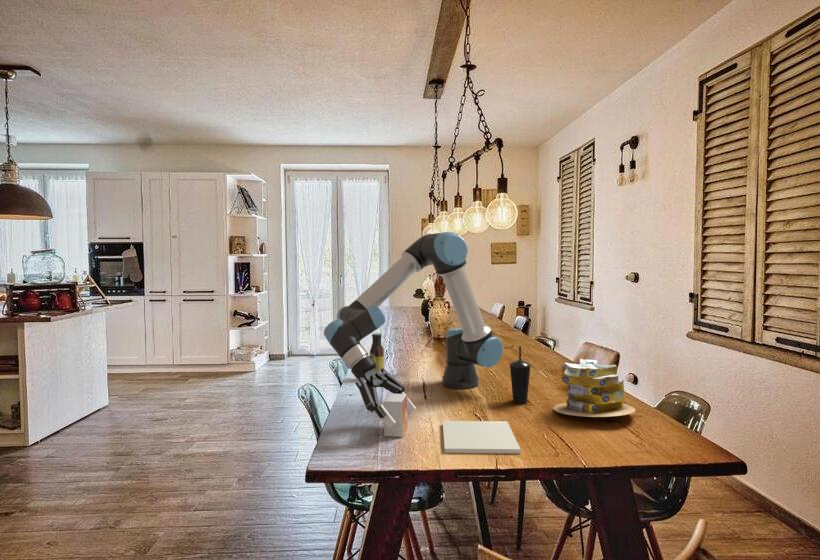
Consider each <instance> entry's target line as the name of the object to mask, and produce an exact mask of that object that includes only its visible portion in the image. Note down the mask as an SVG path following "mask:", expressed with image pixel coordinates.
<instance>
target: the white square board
mask: <svg viewBox="0 0 820 560" xmlns="http://www.w3.org/2000/svg"><path fill="white" fill-rule="evenodd" d="M442 433H443V434H442V435H443V447H444V454H514V455H515V454H518V455H519V454H521V452H522V451H521V447H520V445H519V443H518V441H517V438H516V436H515V434H514V433H513V431H512V428H511V426H510V424H509V422H508V421H507V420H506V421H504V420H503V421H501V420H500V421H498V420H497V421H495V420H493V421H492V420H491V421H490V420H488V421H487V420H476V421H475V420H443V421H442Z"/></svg>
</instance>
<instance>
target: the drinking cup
mask: <svg viewBox="0 0 820 560" xmlns="http://www.w3.org/2000/svg"><path fill="white" fill-rule="evenodd" d="M518 357H519V358H518V360H514V361H511V362H509V364H508V365H509V371H510V379H511V381H510V382H511V391H512V392H511V393H512V402H513V403H514V404H518V405H519V404H520V405H524V404H527V403H528V395H529V387H530V386H529V385H530V376H531V375H530V374H531V373H530V372H531V367H532V363H530V362H528V361H525V360H522V346H519V347H518Z"/></svg>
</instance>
